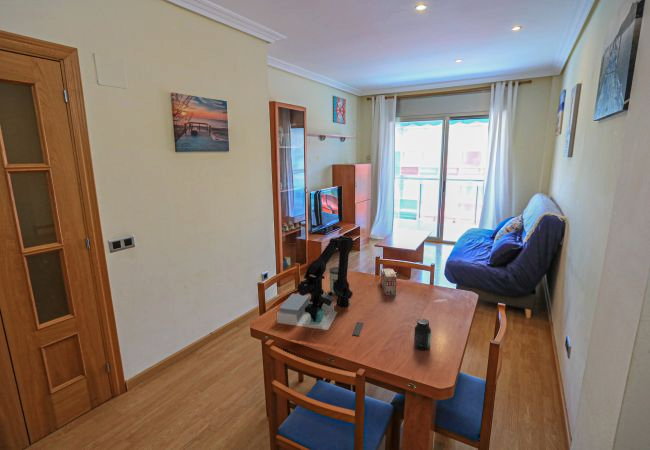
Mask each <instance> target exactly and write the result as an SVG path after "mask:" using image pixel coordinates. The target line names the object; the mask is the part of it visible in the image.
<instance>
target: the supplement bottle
mask: <svg viewBox="0 0 650 450" xmlns="http://www.w3.org/2000/svg"><path fill="white" fill-rule="evenodd" d="M413 331H414V334H413V336H414V337H413V346H414V348H415V349H417V350H419V351H428V350H430V348H431V340H432V339H431V336H432V329H431V327H430V322H429V320H428V319H425V318H419V319H417V321H416V325H415V326H414V330H413Z"/></svg>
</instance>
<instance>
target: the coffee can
mask: <svg viewBox="0 0 650 450" xmlns="http://www.w3.org/2000/svg"><path fill="white" fill-rule="evenodd" d="M328 271H329V292H333V295H335V293H334V291H333V283H334V282H335V281H336V280H337V278H338V266H334V267H330V268H329V269H328Z"/></svg>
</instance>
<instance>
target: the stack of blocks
mask: <svg viewBox="0 0 650 450" xmlns="http://www.w3.org/2000/svg"><path fill="white" fill-rule="evenodd" d="M397 278H398V277H397V274H396V272H395V270H394V268H380V284H381V287H382V289H383V292H384V294H385V296H396V295H397Z"/></svg>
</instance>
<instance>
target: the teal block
mask: <svg viewBox="0 0 650 450" xmlns="http://www.w3.org/2000/svg"><path fill="white" fill-rule="evenodd" d="M322 319H323V309H320V310H319V312H318V313H317V317H316V321H313V319H312V318H311V322H318V323H320V322H321V321H322Z"/></svg>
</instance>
